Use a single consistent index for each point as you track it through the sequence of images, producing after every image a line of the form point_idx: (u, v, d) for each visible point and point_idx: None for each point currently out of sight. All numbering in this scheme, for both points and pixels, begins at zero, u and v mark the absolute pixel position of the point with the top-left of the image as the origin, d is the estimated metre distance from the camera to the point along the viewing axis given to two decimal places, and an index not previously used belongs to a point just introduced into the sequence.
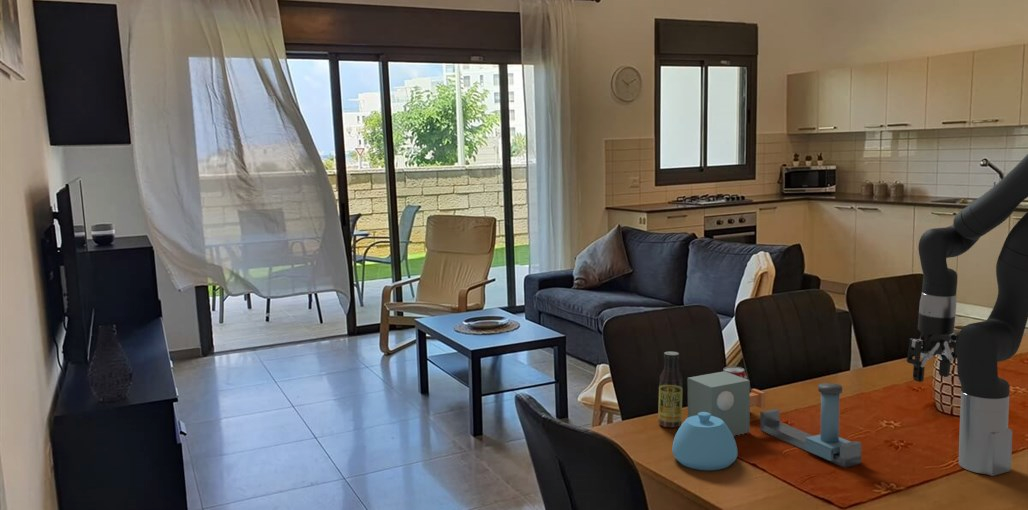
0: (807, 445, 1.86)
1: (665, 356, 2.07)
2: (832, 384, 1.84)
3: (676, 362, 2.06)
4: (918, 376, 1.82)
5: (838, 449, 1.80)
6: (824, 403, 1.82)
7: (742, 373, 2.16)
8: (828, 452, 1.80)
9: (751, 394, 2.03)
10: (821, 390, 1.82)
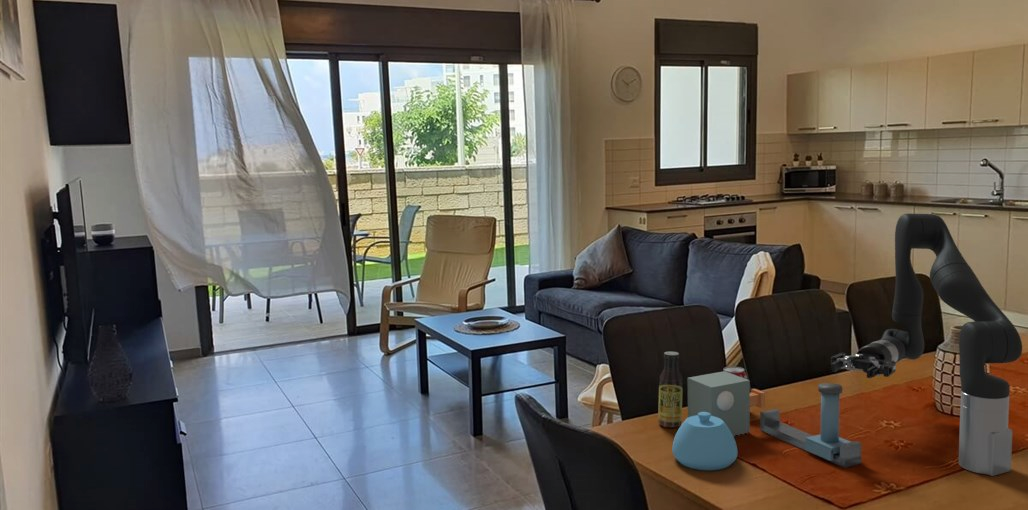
0: (807, 445, 1.86)
1: (665, 356, 2.07)
2: (832, 384, 1.84)
3: (676, 362, 2.06)
4: (832, 363, 1.95)
5: (838, 449, 1.80)
6: (824, 403, 1.82)
7: (742, 373, 2.16)
8: (828, 452, 1.80)
9: (751, 394, 2.03)
10: (821, 390, 1.82)
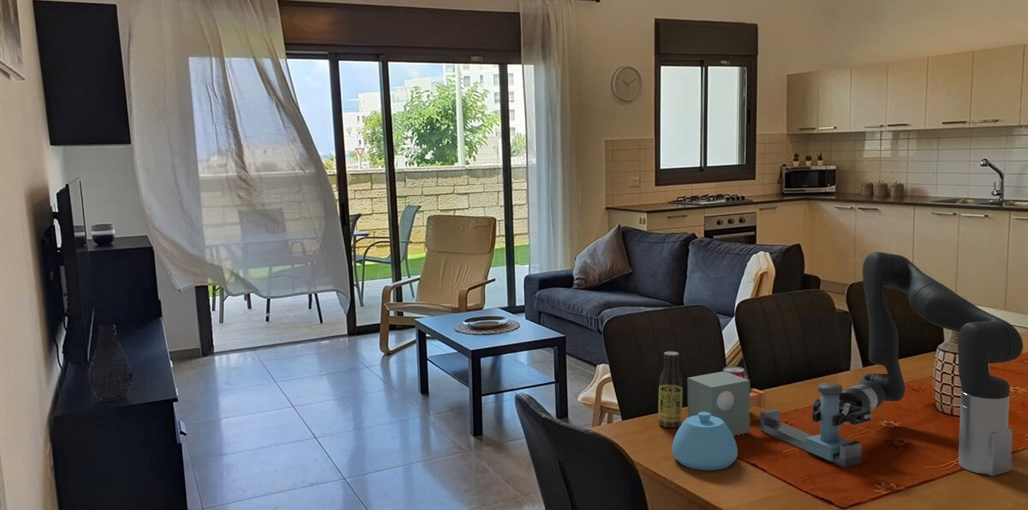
0: (807, 445, 1.86)
1: (665, 356, 2.07)
2: (832, 384, 1.84)
3: (676, 362, 2.06)
4: (814, 413, 1.85)
5: (838, 449, 1.80)
6: (824, 403, 1.82)
7: (742, 373, 2.16)
8: (828, 452, 1.80)
9: (751, 394, 2.03)
10: (821, 390, 1.82)
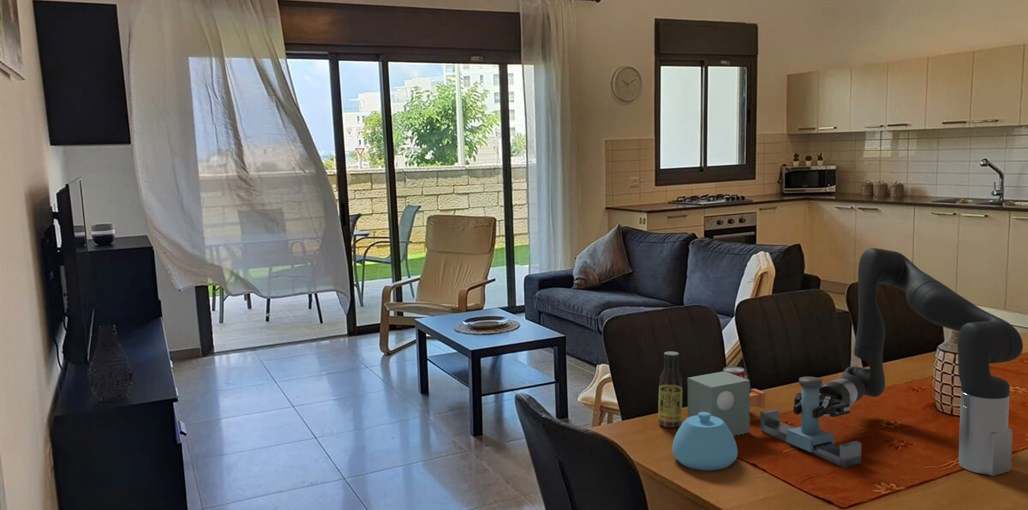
0: (788, 437, 1.92)
1: (665, 356, 2.07)
2: (812, 378, 1.90)
3: (676, 362, 2.06)
4: (795, 405, 1.91)
5: (818, 440, 1.86)
6: (805, 396, 1.88)
7: (742, 373, 2.16)
8: (808, 443, 1.86)
9: (751, 394, 2.03)
10: (801, 383, 1.88)
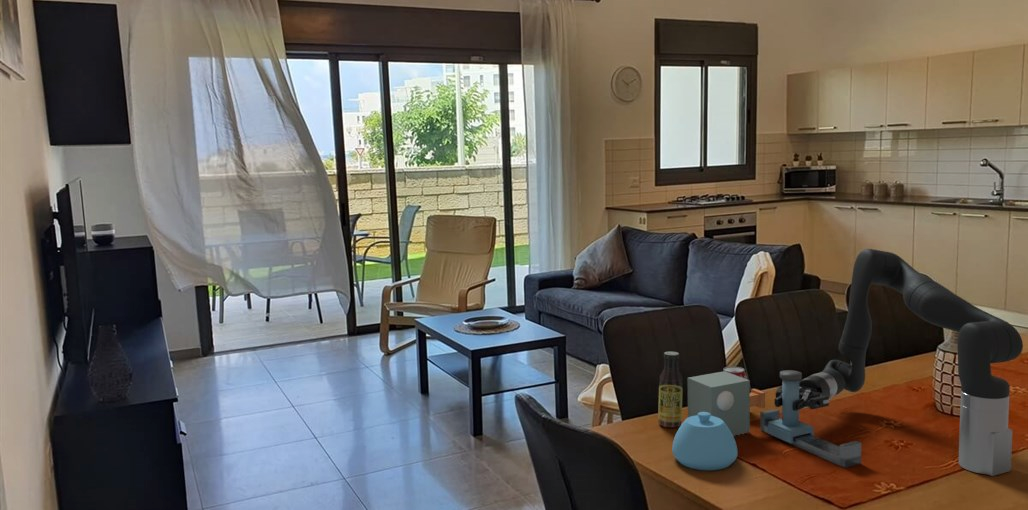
0: (769, 429, 1.98)
1: (665, 356, 2.07)
2: (793, 371, 1.96)
3: (676, 362, 2.06)
4: (776, 398, 1.97)
5: (798, 432, 1.92)
6: (785, 389, 1.94)
7: (742, 373, 2.16)
8: (788, 435, 1.92)
9: (751, 394, 2.03)
10: (782, 377, 1.94)
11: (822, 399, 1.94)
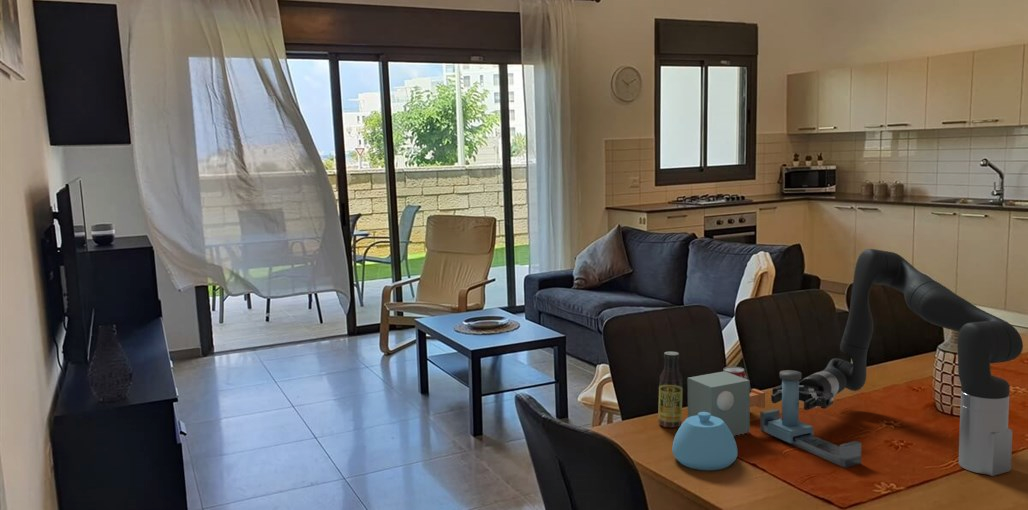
0: (769, 429, 1.98)
1: (665, 356, 2.07)
2: (792, 371, 1.96)
3: (676, 362, 2.06)
4: None
5: (797, 432, 1.92)
6: (785, 388, 1.94)
7: (742, 373, 2.16)
8: (788, 435, 1.92)
9: (751, 394, 2.03)
10: (782, 377, 1.94)
11: (830, 397, 1.95)
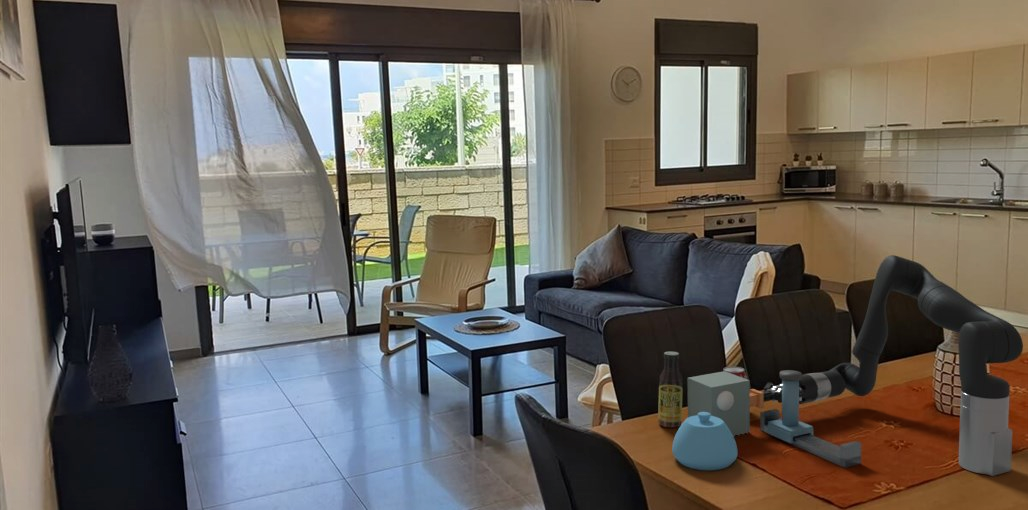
0: (769, 429, 1.98)
1: (665, 356, 2.07)
2: (792, 371, 1.96)
3: (676, 362, 2.06)
4: None
5: (797, 432, 1.92)
6: (785, 388, 1.94)
7: (742, 373, 2.16)
8: (788, 435, 1.92)
9: (750, 394, 2.03)
10: (782, 377, 1.94)
11: None
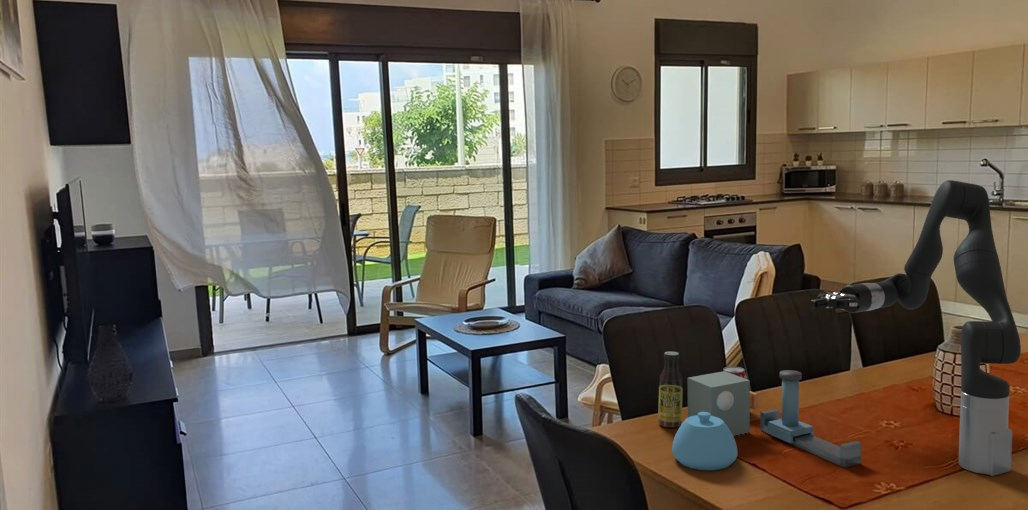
0: (769, 429, 1.98)
1: (665, 356, 2.07)
2: (792, 371, 1.96)
3: (676, 362, 2.06)
4: None
5: (797, 432, 1.92)
6: (785, 388, 1.94)
7: (742, 373, 2.16)
8: (788, 435, 1.92)
9: None
10: (782, 377, 1.94)
11: (846, 301, 2.01)
